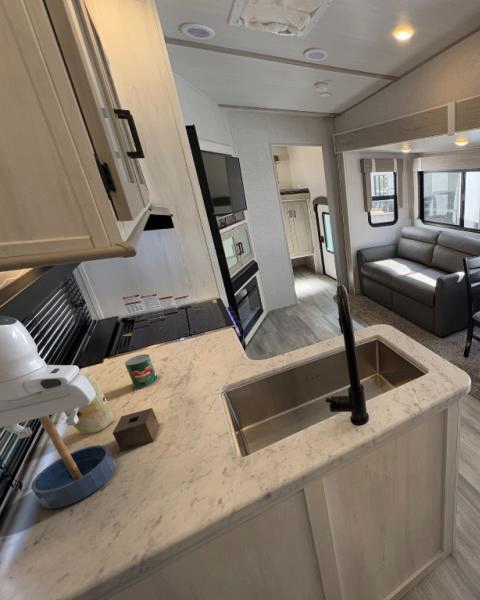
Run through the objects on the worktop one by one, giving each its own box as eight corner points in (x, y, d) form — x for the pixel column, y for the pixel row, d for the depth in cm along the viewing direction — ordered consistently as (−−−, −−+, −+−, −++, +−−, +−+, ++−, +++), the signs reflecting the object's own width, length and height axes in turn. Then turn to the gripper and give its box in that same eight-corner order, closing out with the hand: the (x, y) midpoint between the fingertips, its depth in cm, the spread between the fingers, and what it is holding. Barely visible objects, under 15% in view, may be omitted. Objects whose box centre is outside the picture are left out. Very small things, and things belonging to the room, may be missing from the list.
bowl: (29, 520, 73) (16, 503, 71) (59, 474, 86) (50, 458, 83) (105, 493, 79) (96, 476, 77) (124, 453, 91) (116, 438, 89)
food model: (116, 416, 108) (93, 367, 101) (116, 425, 103) (91, 375, 96) (77, 430, 102) (50, 379, 95) (75, 441, 97) (46, 389, 90)
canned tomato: (142, 389, 122) (132, 365, 118) (129, 386, 125) (119, 363, 121) (162, 378, 129) (153, 355, 125) (149, 375, 132) (140, 353, 128)
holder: (121, 451, 92) (112, 432, 90) (129, 433, 99) (121, 416, 97) (153, 441, 95) (145, 423, 93) (159, 424, 102) (152, 407, 100)
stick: (75, 485, 81) (36, 419, 73) (78, 481, 82) (40, 415, 75) (83, 483, 82) (45, 416, 74) (86, 478, 83) (49, 413, 75)
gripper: (-54, 405, 64) (-19, 455, 69) (74, 376, 72) (97, 422, 77) (-31, 389, 70) (0, 436, 74) (86, 363, 78) (107, 408, 83)
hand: (50, 429), depth 76 cm, fingers open, 7 cm apart
